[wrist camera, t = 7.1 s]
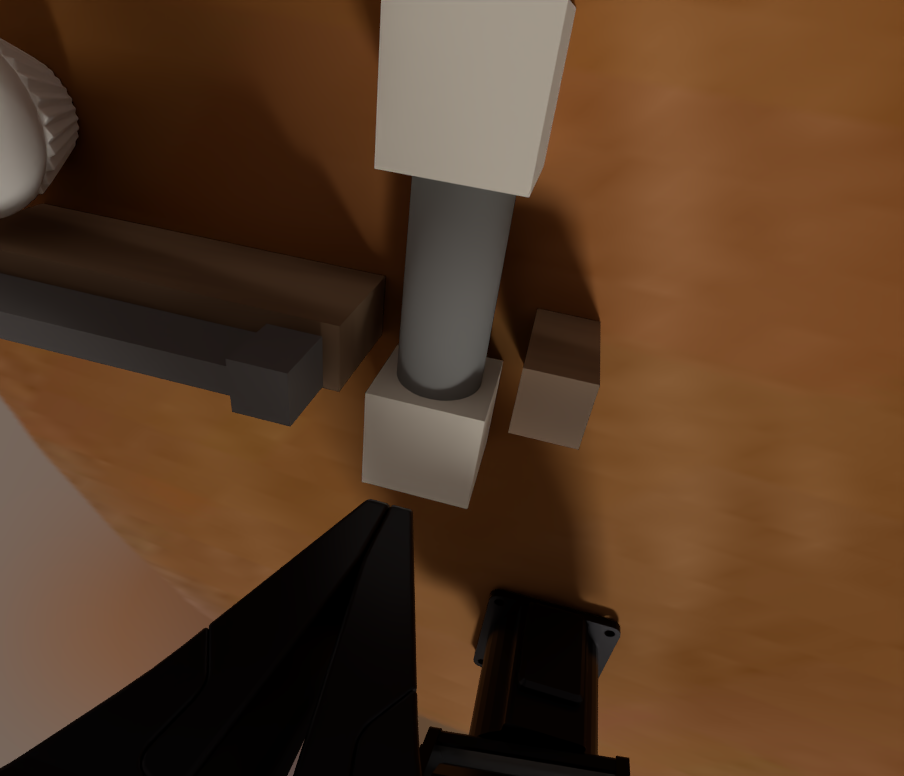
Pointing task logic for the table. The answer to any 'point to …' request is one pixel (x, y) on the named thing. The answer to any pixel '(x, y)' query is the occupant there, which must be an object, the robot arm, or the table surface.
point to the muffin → (31, 128)
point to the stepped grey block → (169, 346)
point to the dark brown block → (282, 302)
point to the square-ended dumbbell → (455, 219)
